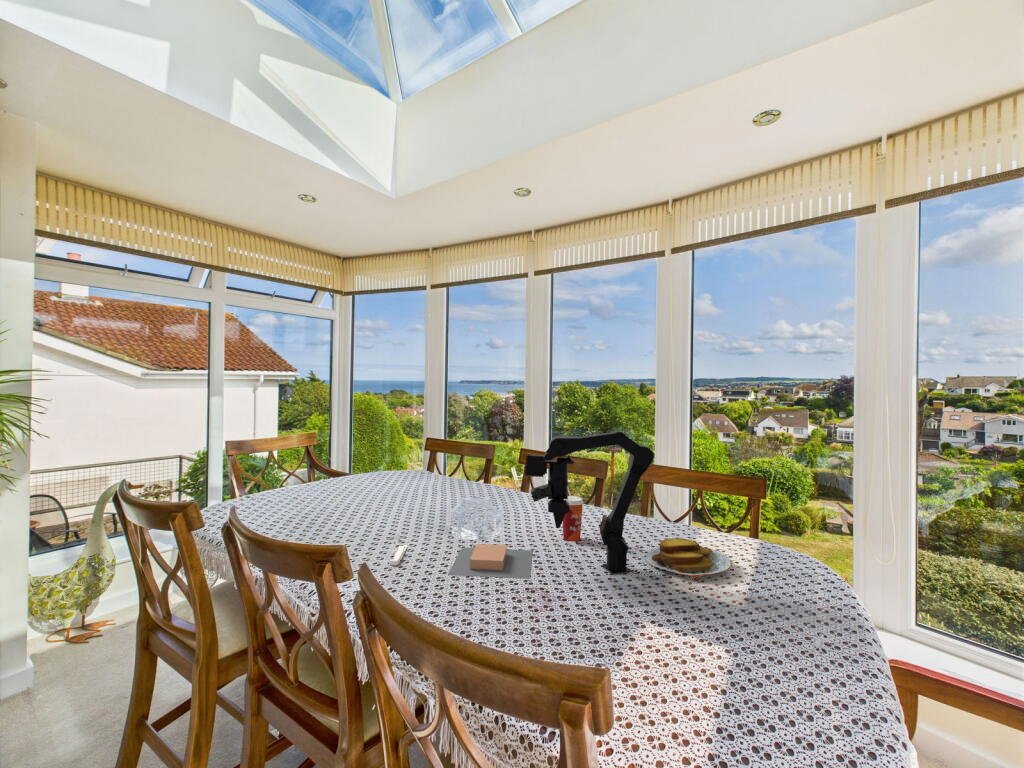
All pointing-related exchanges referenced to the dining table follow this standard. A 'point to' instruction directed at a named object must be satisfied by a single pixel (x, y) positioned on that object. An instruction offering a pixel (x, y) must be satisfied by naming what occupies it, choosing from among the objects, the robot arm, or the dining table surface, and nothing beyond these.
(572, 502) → the coffee cup
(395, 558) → the knife
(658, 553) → the food on plate
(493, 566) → the tile
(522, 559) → the mat
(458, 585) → the dining table surface
